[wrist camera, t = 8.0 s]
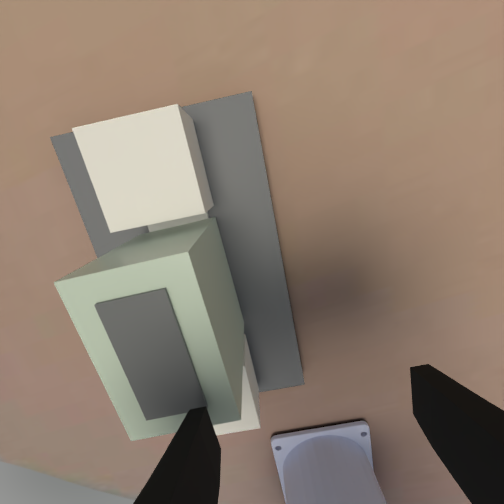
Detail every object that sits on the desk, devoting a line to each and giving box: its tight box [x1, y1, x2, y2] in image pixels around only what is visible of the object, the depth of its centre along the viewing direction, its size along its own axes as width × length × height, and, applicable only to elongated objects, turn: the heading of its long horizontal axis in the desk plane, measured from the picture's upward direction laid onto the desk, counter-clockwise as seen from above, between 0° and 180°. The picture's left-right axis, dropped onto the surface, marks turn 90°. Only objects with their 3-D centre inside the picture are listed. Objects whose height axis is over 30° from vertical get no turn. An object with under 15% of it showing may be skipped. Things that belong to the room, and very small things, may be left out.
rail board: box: [50, 91, 305, 435], centre depth 15 cm, size 19×11×5 cm, turn 12°
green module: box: [54, 217, 244, 441], centre depth 13 cm, size 7×4×7 cm, turn 13°
